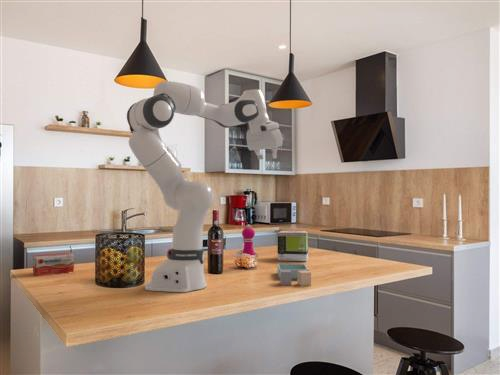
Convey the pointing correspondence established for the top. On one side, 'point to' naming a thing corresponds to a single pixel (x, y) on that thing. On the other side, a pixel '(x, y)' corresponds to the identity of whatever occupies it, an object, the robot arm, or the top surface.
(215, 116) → the robot arm
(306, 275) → the stone sandstone
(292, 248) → the tea box
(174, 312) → the top surface
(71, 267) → the medicine box
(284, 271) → the grey block
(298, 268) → the tub
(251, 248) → the pepper mill
